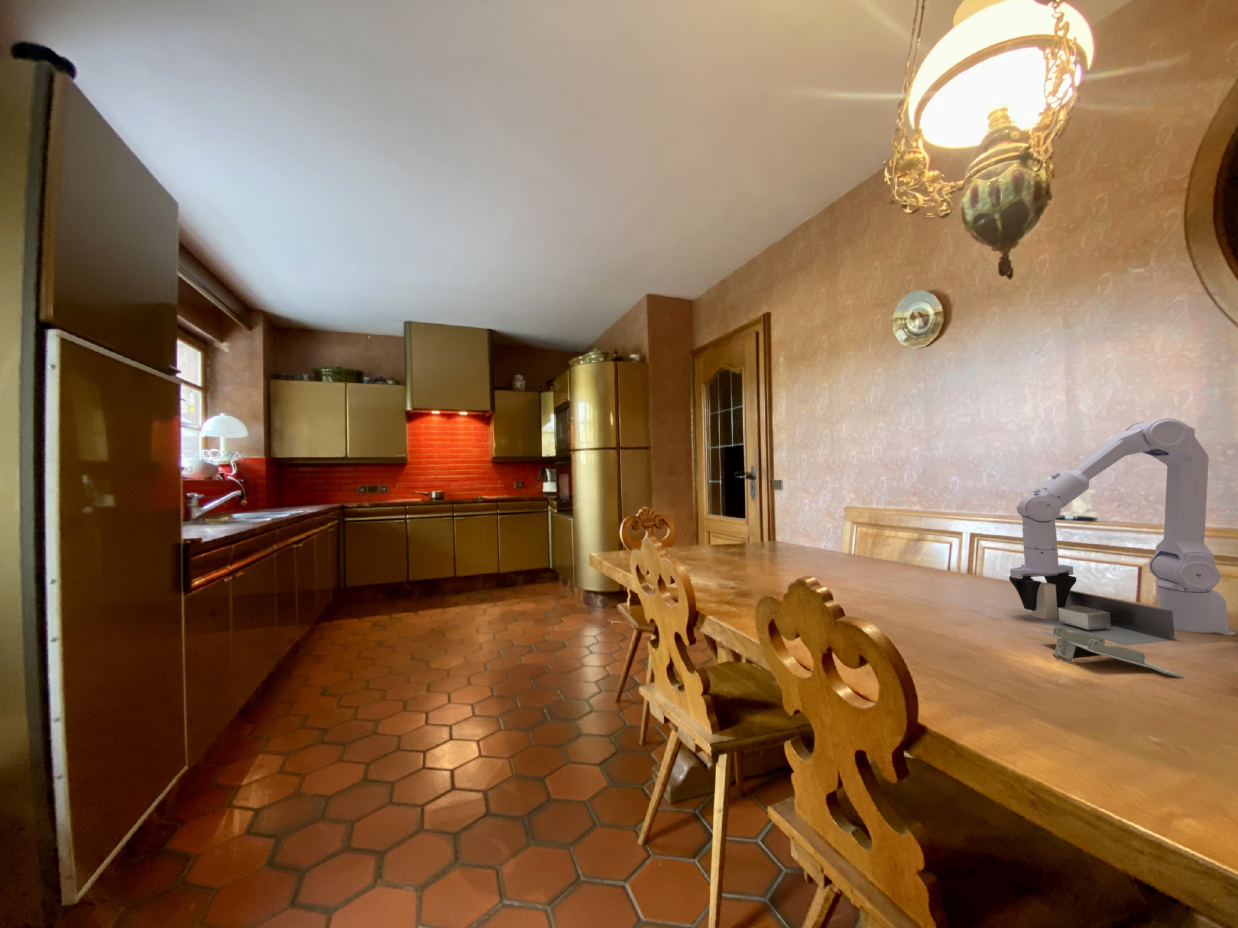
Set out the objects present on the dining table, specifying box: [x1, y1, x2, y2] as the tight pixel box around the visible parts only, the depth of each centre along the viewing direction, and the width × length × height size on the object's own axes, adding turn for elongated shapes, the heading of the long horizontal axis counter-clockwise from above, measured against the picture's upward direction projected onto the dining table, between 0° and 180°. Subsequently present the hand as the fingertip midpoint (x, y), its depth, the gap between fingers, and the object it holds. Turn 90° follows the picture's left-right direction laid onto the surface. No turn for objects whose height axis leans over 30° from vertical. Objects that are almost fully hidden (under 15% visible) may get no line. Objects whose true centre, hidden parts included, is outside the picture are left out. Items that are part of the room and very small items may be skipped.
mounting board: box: [1019, 612, 1177, 646], centre depth 98 cm, size 12×20×1 cm, turn 9°
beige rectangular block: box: [1031, 581, 1058, 620], centre depth 105 cm, size 3×3×8 cm
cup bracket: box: [1057, 589, 1176, 641], centre depth 98 cm, size 10×20×6 cm, turn 9°
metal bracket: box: [1041, 626, 1184, 679], centre depth 84 cm, size 14×6×15 cm
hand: (1044, 608), depth 105 cm, fingers open, 7 cm apart
